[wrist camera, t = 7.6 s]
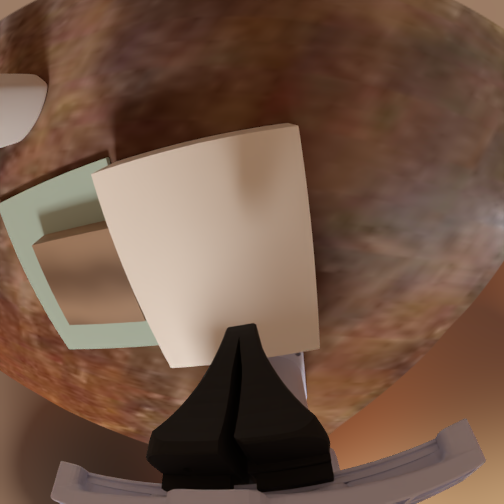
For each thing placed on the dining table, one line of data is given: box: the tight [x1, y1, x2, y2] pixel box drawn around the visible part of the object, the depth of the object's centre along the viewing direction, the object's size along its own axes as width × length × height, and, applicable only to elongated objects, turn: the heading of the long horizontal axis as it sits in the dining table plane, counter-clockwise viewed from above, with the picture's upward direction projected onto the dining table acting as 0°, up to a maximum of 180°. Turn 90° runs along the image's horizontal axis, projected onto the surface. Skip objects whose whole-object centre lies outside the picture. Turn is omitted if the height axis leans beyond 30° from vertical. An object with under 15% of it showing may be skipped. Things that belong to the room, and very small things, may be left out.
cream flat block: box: [91, 123, 320, 368], centre depth 20 cm, size 16×12×4 cm
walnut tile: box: [32, 221, 146, 325], centre depth 21 cm, size 8×8×2 cm
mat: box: [0, 157, 159, 349], centre depth 22 cm, size 17×13×1 cm
